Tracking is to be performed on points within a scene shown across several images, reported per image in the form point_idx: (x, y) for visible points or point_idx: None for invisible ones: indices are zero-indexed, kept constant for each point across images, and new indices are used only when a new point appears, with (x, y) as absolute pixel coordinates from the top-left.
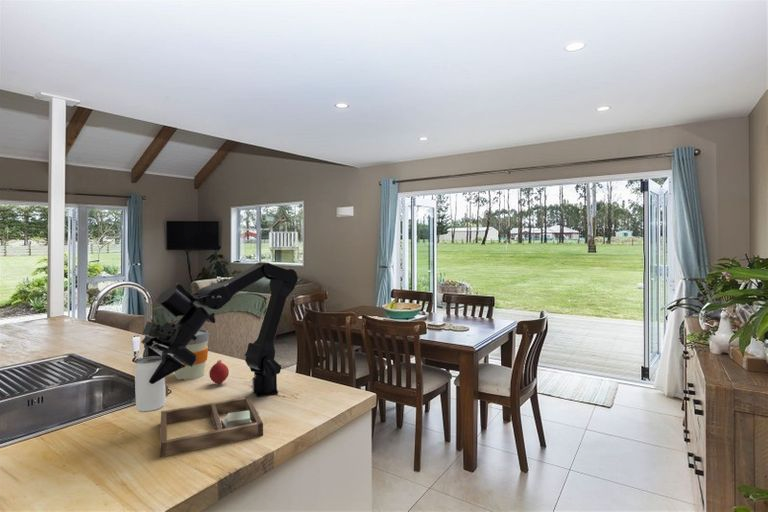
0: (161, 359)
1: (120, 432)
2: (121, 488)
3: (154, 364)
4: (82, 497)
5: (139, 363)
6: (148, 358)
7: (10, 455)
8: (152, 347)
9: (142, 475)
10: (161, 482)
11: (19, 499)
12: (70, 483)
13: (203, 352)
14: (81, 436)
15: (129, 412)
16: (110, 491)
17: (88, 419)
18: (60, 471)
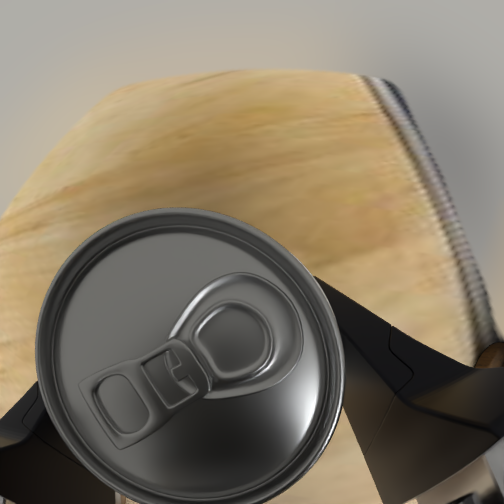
0: (99, 475)
1: (295, 255)
2: (29, 221)
3: (55, 375)
4: (50, 169)
5: (109, 234)
6: (305, 389)
7: (309, 73)
8: (487, 478)
9: (38, 258)
10: (6, 279)
11: (116, 96)
12: (102, 149)
13: None
14: (332, 171)
15: (431, 298)
16: (34, 205)
17: (434, 201)
18: (162, 131)
